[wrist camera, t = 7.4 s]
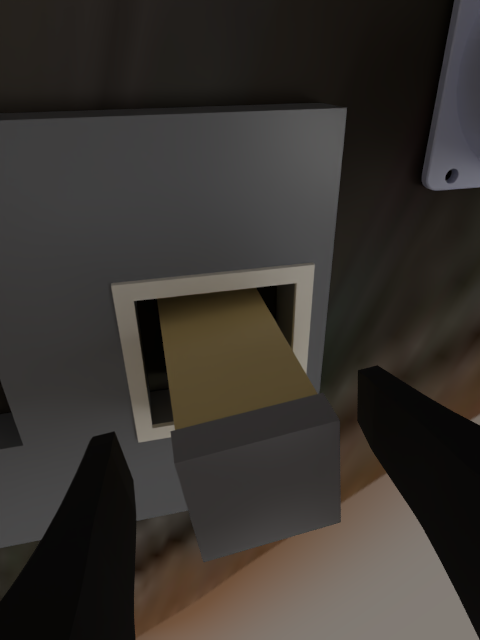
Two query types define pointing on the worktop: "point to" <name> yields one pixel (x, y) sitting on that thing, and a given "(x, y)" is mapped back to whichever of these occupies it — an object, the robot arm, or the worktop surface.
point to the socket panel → (143, 272)
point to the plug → (246, 425)
